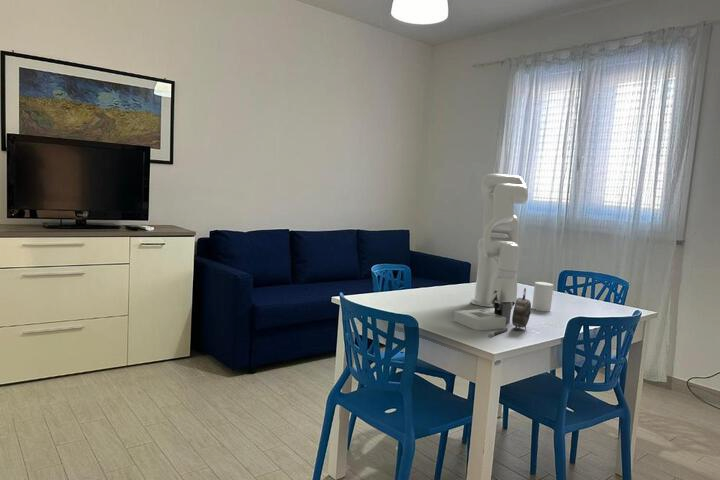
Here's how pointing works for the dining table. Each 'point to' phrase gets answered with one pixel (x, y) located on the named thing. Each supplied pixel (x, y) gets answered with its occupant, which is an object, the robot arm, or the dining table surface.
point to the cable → (496, 332)
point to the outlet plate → (479, 319)
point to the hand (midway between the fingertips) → (502, 318)
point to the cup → (542, 296)
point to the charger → (506, 311)
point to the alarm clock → (521, 312)
